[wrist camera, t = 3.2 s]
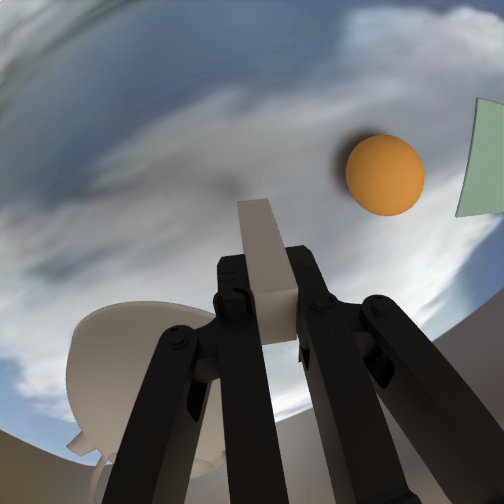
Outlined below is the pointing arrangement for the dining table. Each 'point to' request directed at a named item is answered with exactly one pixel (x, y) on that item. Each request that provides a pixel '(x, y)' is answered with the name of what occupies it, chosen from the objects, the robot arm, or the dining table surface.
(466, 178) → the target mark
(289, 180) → the dining table surface
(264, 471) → the robot arm
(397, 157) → the ball
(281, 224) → the dining table surface
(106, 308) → the kettle
